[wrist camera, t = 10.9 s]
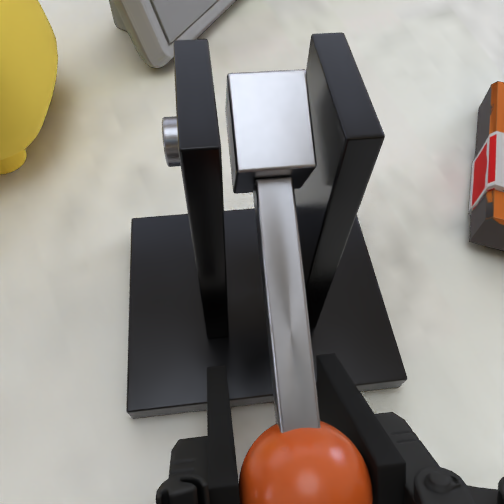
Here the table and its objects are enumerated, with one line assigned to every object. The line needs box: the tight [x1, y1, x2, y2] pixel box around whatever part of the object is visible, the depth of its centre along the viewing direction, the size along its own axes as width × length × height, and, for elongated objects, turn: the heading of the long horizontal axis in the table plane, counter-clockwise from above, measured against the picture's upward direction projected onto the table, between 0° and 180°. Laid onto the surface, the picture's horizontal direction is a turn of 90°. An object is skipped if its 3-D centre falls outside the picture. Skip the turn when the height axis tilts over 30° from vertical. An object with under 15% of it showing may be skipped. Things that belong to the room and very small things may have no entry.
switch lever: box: [225, 69, 373, 504], centre depth 13 cm, size 13×4×4 cm, turn 7°
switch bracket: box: [127, 33, 407, 419], centre depth 17 cm, size 10×12×13 cm
